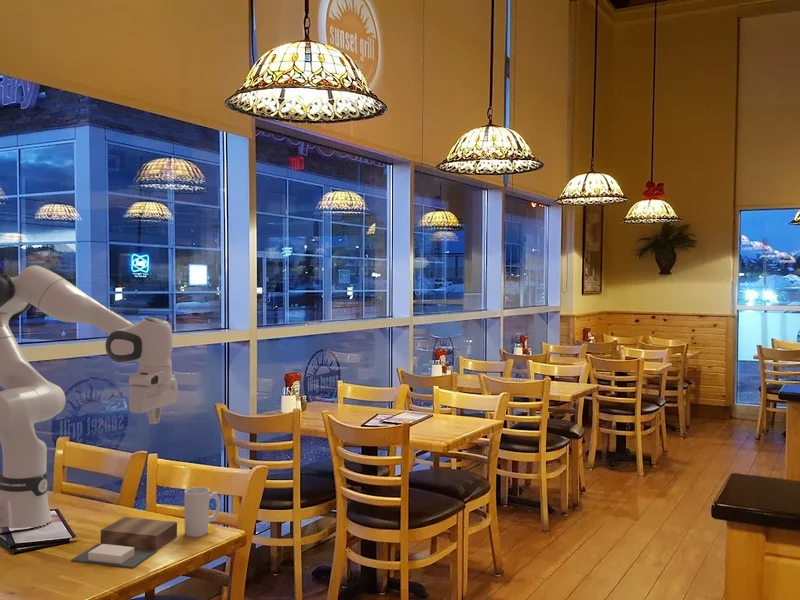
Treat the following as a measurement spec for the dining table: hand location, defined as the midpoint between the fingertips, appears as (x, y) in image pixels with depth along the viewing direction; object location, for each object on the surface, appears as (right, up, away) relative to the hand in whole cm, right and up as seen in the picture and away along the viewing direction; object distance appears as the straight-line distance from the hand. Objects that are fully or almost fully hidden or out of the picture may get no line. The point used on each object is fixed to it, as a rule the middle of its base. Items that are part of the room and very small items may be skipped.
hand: (154, 423), depth 210 cm
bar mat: (-2, -30, -23) cm, 38 cm away
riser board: (0, -30, -12) cm, 32 cm away
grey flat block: (-2, -28, -25) cm, 37 cm away
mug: (+15, -30, -4) cm, 34 cm away
